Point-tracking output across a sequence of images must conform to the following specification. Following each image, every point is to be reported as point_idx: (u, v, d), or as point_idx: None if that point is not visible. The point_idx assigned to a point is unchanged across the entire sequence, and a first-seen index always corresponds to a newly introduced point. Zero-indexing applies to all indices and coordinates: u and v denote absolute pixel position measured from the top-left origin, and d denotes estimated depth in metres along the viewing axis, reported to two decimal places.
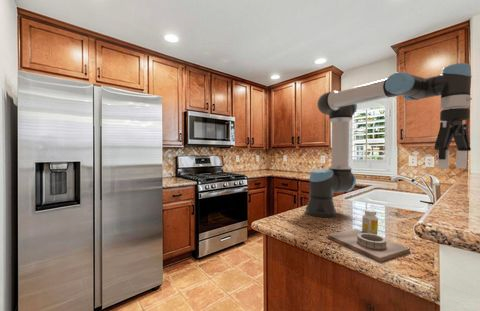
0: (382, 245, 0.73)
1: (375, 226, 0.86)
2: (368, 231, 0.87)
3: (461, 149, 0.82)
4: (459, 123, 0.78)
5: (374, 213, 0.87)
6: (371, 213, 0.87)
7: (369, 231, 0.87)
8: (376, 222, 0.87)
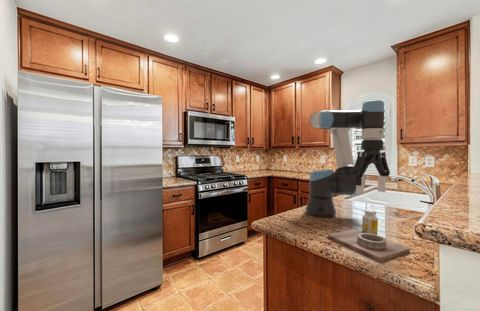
0: (382, 245, 0.73)
1: (375, 226, 0.86)
2: (368, 231, 0.87)
3: (382, 174, 0.92)
4: (376, 152, 0.88)
5: (374, 213, 0.87)
6: (371, 213, 0.87)
7: (369, 231, 0.87)
8: (376, 222, 0.87)
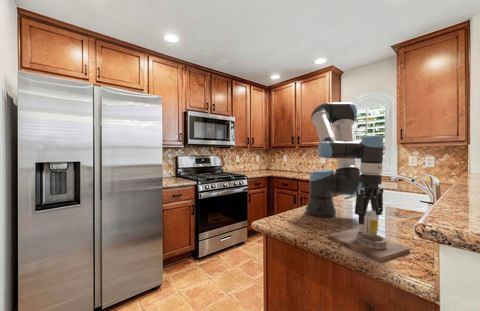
0: (382, 245, 0.73)
1: (375, 226, 0.86)
2: (368, 231, 0.87)
3: None
4: (375, 185, 0.88)
5: (374, 213, 0.87)
6: (371, 213, 0.87)
7: (369, 231, 0.87)
8: (376, 222, 0.86)
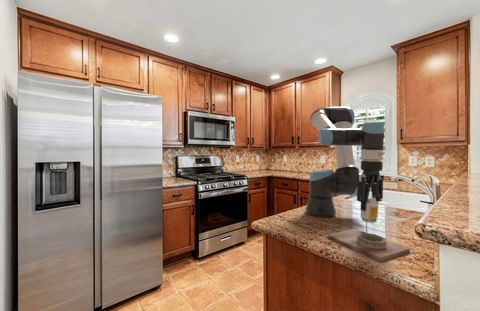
0: (382, 245, 0.73)
1: (374, 213, 0.87)
2: None
3: None
4: (376, 171, 0.88)
5: (374, 200, 0.87)
6: (370, 200, 0.87)
7: (368, 218, 0.87)
8: (375, 209, 0.87)
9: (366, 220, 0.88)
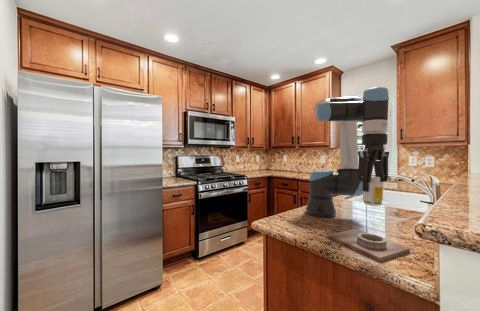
0: (382, 245, 0.73)
1: (379, 194, 0.74)
2: None
3: None
4: (380, 146, 0.76)
5: (378, 179, 0.75)
6: (374, 179, 0.75)
7: (372, 200, 0.74)
8: (380, 189, 0.74)
9: (369, 203, 0.75)
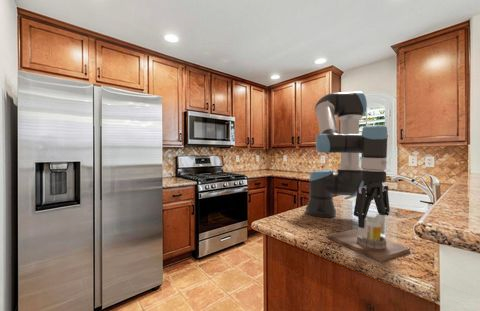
0: (382, 245, 0.73)
1: (378, 234, 0.74)
2: None
3: (380, 213, 0.79)
4: (378, 183, 0.76)
5: (376, 219, 0.75)
6: (373, 219, 0.75)
7: (371, 240, 0.75)
8: (379, 229, 0.75)
9: None
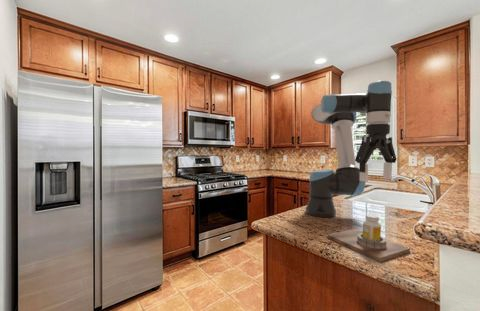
0: (382, 245, 0.73)
1: (378, 234, 0.74)
2: None
3: (387, 161, 0.87)
4: (382, 137, 0.82)
5: (376, 219, 0.75)
6: (373, 219, 0.75)
7: (371, 240, 0.75)
8: (379, 230, 0.75)
9: None
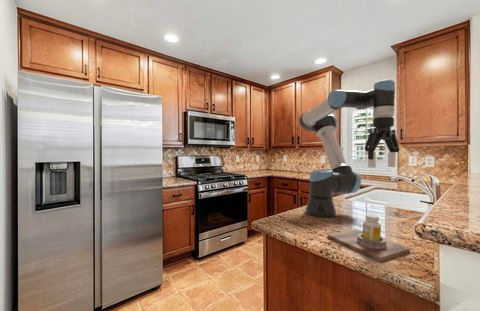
0: (382, 245, 0.73)
1: (378, 234, 0.74)
2: None
3: (391, 151, 0.98)
4: (387, 129, 0.94)
5: (376, 219, 0.75)
6: (373, 219, 0.75)
7: (371, 240, 0.75)
8: (379, 229, 0.75)
9: None
